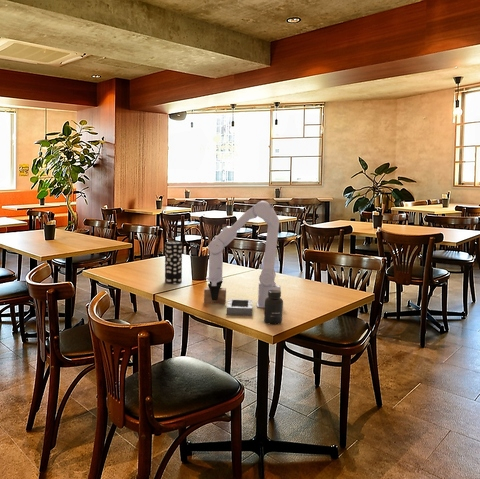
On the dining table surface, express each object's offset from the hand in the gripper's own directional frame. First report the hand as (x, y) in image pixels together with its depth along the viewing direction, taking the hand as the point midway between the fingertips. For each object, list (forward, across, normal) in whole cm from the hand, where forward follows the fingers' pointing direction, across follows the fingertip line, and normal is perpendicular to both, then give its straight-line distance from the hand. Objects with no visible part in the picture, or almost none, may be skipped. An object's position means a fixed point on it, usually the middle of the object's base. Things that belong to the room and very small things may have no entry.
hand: (215, 298), depth 199 cm
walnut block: (+2, 0, 0) cm, 2 cm away
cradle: (+2, +11, +11) cm, 16 cm away
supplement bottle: (+2, +24, +24) cm, 34 cm away
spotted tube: (+2, -34, -24) cm, 42 cm away
